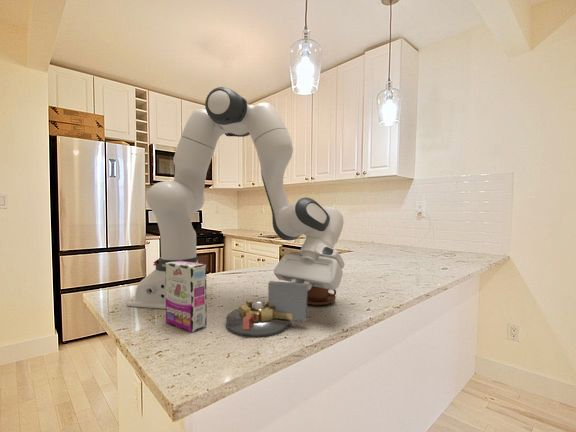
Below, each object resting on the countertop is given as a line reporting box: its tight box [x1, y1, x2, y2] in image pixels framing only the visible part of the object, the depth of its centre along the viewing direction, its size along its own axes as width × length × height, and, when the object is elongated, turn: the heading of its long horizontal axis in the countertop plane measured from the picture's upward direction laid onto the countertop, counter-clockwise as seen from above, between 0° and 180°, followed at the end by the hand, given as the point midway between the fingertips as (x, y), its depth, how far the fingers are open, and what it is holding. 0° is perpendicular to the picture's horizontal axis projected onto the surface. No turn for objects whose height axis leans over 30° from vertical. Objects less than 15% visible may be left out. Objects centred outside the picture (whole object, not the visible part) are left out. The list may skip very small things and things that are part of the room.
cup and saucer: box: [307, 286, 337, 306], centre depth 97 cm, size 12×12×6 cm
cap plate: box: [225, 298, 291, 338], centre depth 79 cm, size 17×17×6 cm
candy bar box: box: [165, 261, 208, 333], centre depth 78 cm, size 11×5×16 cm, turn 56°
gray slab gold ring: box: [238, 280, 308, 322], centre depth 78 cm, size 18×10×9 cm, turn 76°
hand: (295, 296), depth 79 cm, fingers closed
